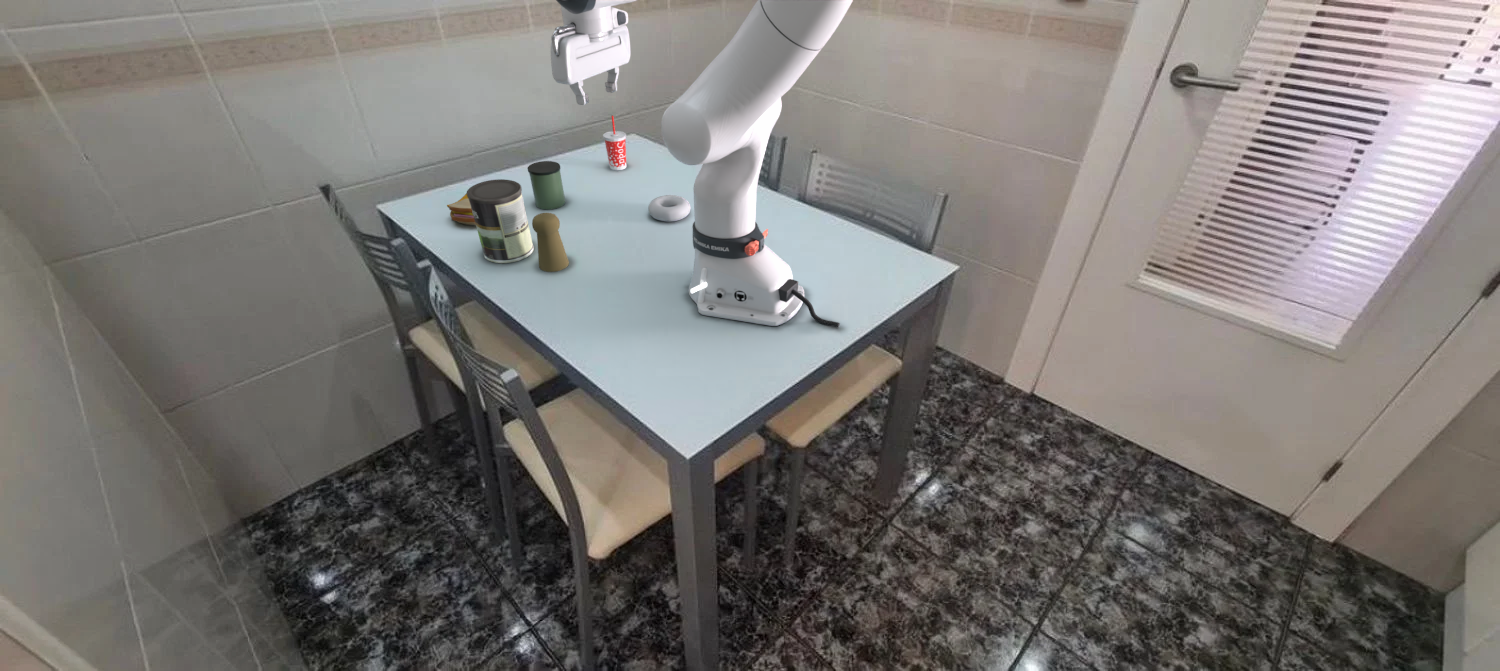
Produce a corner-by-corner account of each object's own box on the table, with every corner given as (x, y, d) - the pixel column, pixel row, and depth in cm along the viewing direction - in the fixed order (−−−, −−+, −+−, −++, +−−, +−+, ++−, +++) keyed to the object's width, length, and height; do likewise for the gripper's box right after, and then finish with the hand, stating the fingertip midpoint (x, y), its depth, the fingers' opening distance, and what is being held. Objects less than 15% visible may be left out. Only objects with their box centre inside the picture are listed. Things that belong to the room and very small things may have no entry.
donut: (654, 227, 141) (696, 220, 144) (653, 213, 139) (695, 206, 142) (644, 209, 148) (684, 203, 151) (643, 196, 146) (683, 189, 149)
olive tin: (572, 200, 151) (566, 164, 146) (552, 212, 146) (545, 175, 140) (548, 194, 154) (541, 158, 148) (528, 206, 148) (520, 169, 143)
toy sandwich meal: (519, 208, 147) (514, 189, 144) (481, 232, 137) (476, 213, 134) (476, 200, 150) (471, 181, 147) (436, 223, 140) (430, 203, 137)
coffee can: (482, 266, 125) (464, 202, 117) (484, 243, 133) (467, 181, 124) (535, 260, 128) (521, 196, 119) (534, 237, 135) (520, 176, 127)
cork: (574, 259, 128) (565, 210, 122) (560, 273, 123) (551, 224, 117) (547, 255, 129) (537, 207, 123) (533, 269, 124) (522, 220, 118)
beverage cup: (611, 172, 166) (604, 120, 157) (603, 165, 170) (597, 113, 162) (632, 169, 168) (627, 117, 160) (624, 161, 172) (619, 110, 164)
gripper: (565, 30, 102) (578, 114, 111) (632, 12, 117) (639, 87, 126) (535, 26, 104) (550, 109, 113) (605, 9, 119) (613, 83, 128)
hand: (597, 97), depth 119 cm, fingers open, 8 cm apart
